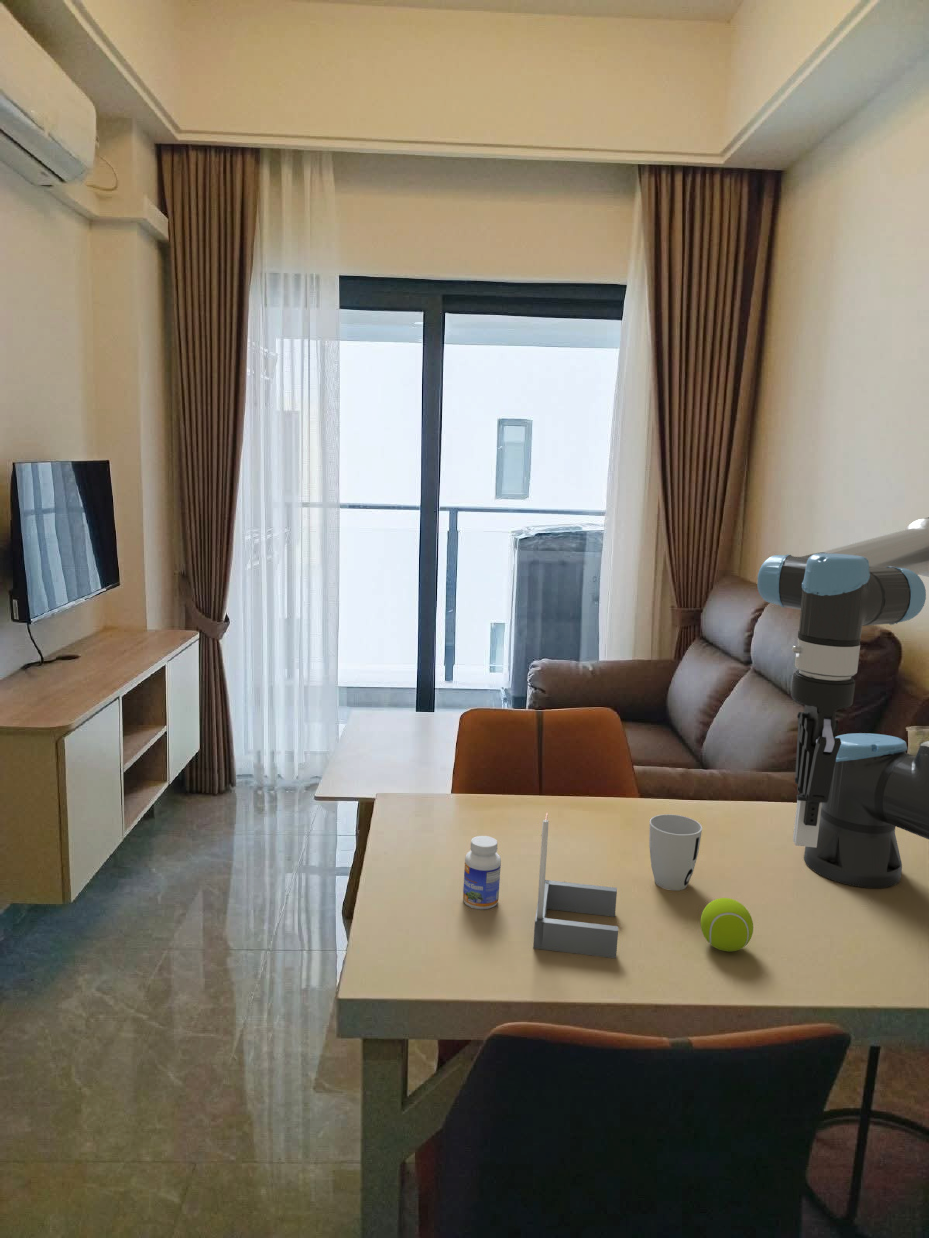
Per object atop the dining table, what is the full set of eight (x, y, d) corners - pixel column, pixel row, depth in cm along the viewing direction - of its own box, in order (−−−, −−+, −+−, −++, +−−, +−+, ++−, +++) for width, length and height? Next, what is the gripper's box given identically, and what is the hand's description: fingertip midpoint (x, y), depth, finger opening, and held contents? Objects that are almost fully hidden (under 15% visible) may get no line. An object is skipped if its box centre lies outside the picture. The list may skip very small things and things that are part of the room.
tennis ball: (754, 964, 117) (759, 916, 116) (701, 957, 118) (705, 910, 117) (746, 937, 124) (751, 892, 123) (696, 931, 125) (700, 886, 124)
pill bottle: (455, 900, 131) (457, 839, 129) (480, 889, 135) (483, 830, 133) (481, 914, 127) (484, 852, 126) (506, 902, 131) (509, 841, 129)
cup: (698, 898, 135) (703, 837, 133) (644, 891, 136) (649, 831, 135) (695, 874, 143) (700, 817, 141) (644, 868, 144) (649, 811, 142)
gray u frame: (614, 912, 129) (623, 798, 126) (616, 958, 117) (625, 832, 114) (539, 904, 131) (546, 790, 128) (533, 948, 119) (540, 824, 116)
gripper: (783, 660, 120) (766, 821, 124) (805, 683, 107) (785, 862, 111) (841, 664, 119) (821, 826, 123) (870, 688, 106) (847, 868, 110)
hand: (804, 843), depth 117 cm, fingers closed
